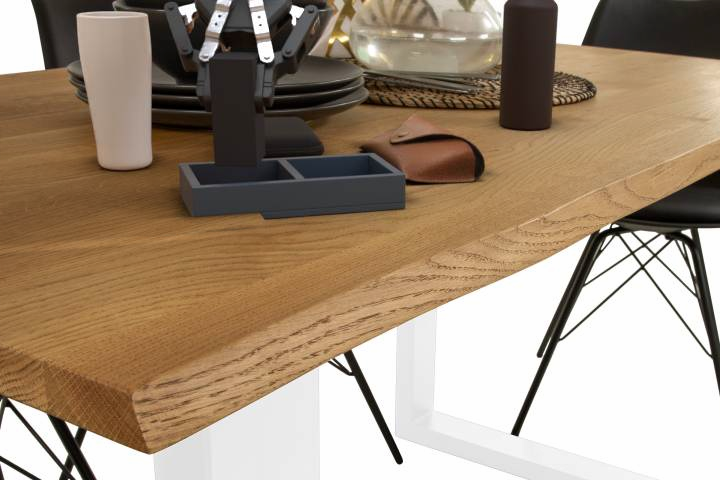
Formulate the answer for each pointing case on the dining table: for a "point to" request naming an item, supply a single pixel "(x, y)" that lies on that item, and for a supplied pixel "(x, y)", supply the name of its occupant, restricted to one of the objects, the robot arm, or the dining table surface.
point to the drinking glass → (118, 85)
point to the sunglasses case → (428, 152)
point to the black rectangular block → (235, 110)
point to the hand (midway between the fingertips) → (234, 106)
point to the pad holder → (293, 186)
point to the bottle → (528, 64)
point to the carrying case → (290, 138)
